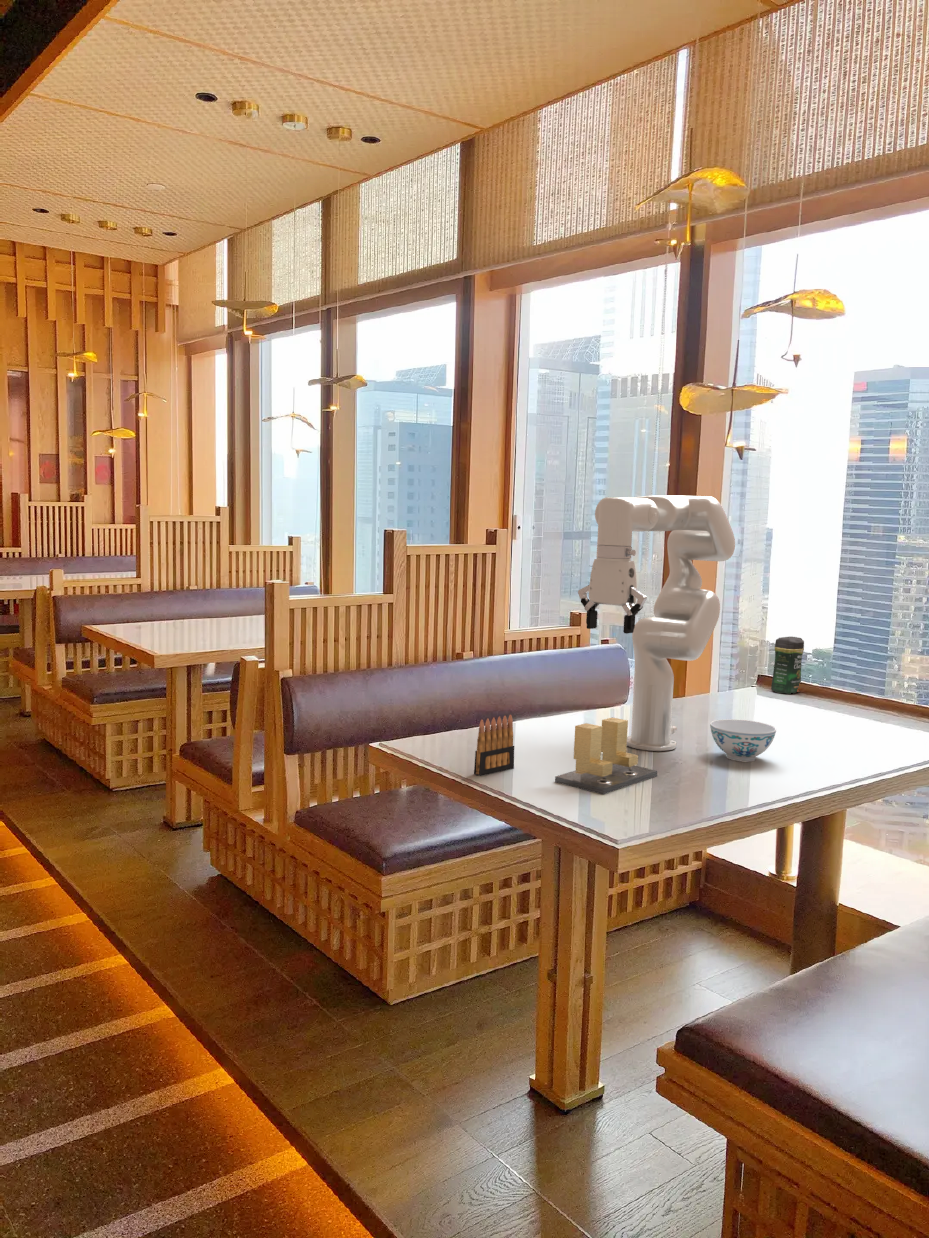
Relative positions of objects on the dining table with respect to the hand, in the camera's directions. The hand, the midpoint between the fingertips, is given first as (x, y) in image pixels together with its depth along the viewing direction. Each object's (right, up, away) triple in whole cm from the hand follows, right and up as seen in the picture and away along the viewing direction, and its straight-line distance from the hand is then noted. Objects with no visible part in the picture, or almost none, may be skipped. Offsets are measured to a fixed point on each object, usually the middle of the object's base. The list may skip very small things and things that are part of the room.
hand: (609, 630), depth 220 cm
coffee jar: (+74, -22, +107) cm, 132 cm away
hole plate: (-2, -32, -10) cm, 33 cm away
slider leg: (+1, -29, -8) cm, 30 cm away
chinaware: (+33, -31, +13) cm, 47 cm away
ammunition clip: (-26, -31, -7) cm, 41 cm away
